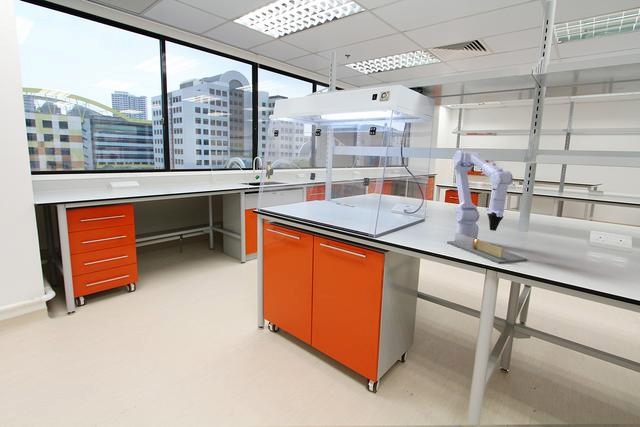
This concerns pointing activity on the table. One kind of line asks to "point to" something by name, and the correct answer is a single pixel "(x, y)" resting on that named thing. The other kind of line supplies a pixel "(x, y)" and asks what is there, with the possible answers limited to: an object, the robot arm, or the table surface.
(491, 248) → the swing leaf
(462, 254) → the table surface
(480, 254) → the board
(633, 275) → the table surface
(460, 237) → the fixed leaf
